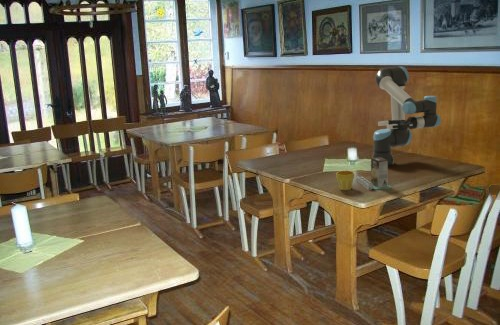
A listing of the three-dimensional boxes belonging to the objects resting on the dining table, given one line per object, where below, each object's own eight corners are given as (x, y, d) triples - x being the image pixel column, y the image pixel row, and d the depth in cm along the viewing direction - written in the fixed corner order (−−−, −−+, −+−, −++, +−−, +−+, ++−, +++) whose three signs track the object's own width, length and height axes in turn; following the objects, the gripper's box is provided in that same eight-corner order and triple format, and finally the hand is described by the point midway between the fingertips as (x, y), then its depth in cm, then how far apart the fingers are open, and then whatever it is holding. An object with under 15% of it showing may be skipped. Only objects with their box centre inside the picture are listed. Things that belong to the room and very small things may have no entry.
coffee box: (370, 184, 300) (370, 158, 296) (380, 182, 301) (380, 156, 297) (378, 188, 291) (378, 161, 287) (388, 186, 293) (388, 159, 289)
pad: (383, 182, 303) (383, 181, 303) (391, 188, 291) (391, 187, 291) (367, 184, 302) (367, 183, 301) (375, 189, 290) (375, 189, 290)
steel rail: (361, 180, 310) (361, 175, 309) (373, 189, 291) (373, 184, 290) (356, 181, 310) (356, 176, 309) (368, 190, 290) (368, 184, 290)
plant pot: (334, 187, 301) (334, 171, 298) (351, 185, 301) (351, 169, 299) (339, 192, 290) (338, 175, 288) (356, 190, 291) (356, 174, 289)
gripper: (424, 131, 302) (390, 134, 299) (406, 125, 326) (375, 128, 323) (424, 119, 300) (390, 122, 297) (406, 113, 324) (374, 116, 322)
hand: (382, 125), depth 310 cm, fingers open, 13 cm apart
